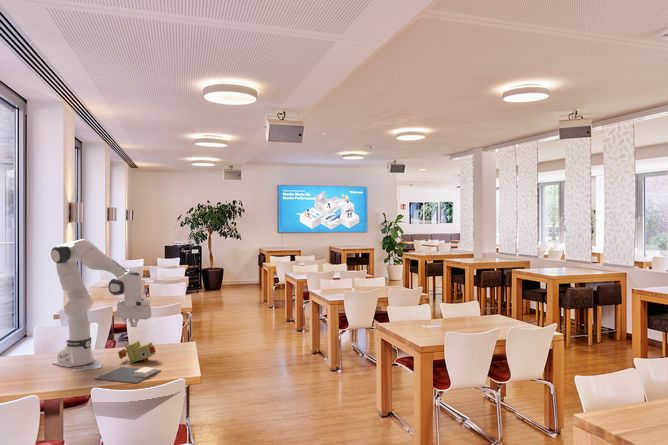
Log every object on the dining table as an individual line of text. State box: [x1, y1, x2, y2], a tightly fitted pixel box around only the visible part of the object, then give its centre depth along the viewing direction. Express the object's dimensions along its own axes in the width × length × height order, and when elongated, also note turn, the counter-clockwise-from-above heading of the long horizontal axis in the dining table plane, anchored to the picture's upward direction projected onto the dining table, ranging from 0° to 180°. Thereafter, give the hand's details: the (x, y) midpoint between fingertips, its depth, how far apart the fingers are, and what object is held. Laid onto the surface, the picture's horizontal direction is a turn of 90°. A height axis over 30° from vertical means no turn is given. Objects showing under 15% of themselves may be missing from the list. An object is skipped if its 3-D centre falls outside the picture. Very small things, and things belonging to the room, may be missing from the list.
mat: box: [94, 366, 162, 384], centre depth 262 cm, size 26×20×1 cm
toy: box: [117, 340, 157, 364], centre depth 287 cm, size 9×12×20 cm
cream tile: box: [134, 366, 156, 377], centre depth 261 cm, size 2×8×7 cm
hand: (133, 326), depth 266 cm, fingers closed
